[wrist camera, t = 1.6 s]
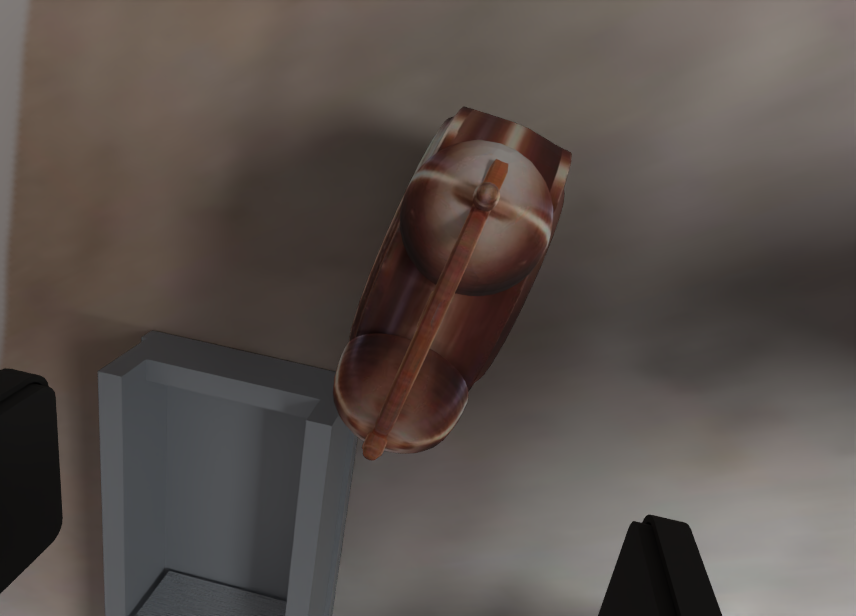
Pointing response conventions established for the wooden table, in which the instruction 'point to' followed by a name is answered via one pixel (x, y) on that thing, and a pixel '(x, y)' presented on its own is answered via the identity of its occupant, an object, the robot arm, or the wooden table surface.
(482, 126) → the alarm clock
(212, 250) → the wooden table surface
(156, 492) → the tray
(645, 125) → the wooden table surface
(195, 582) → the pusher plate
